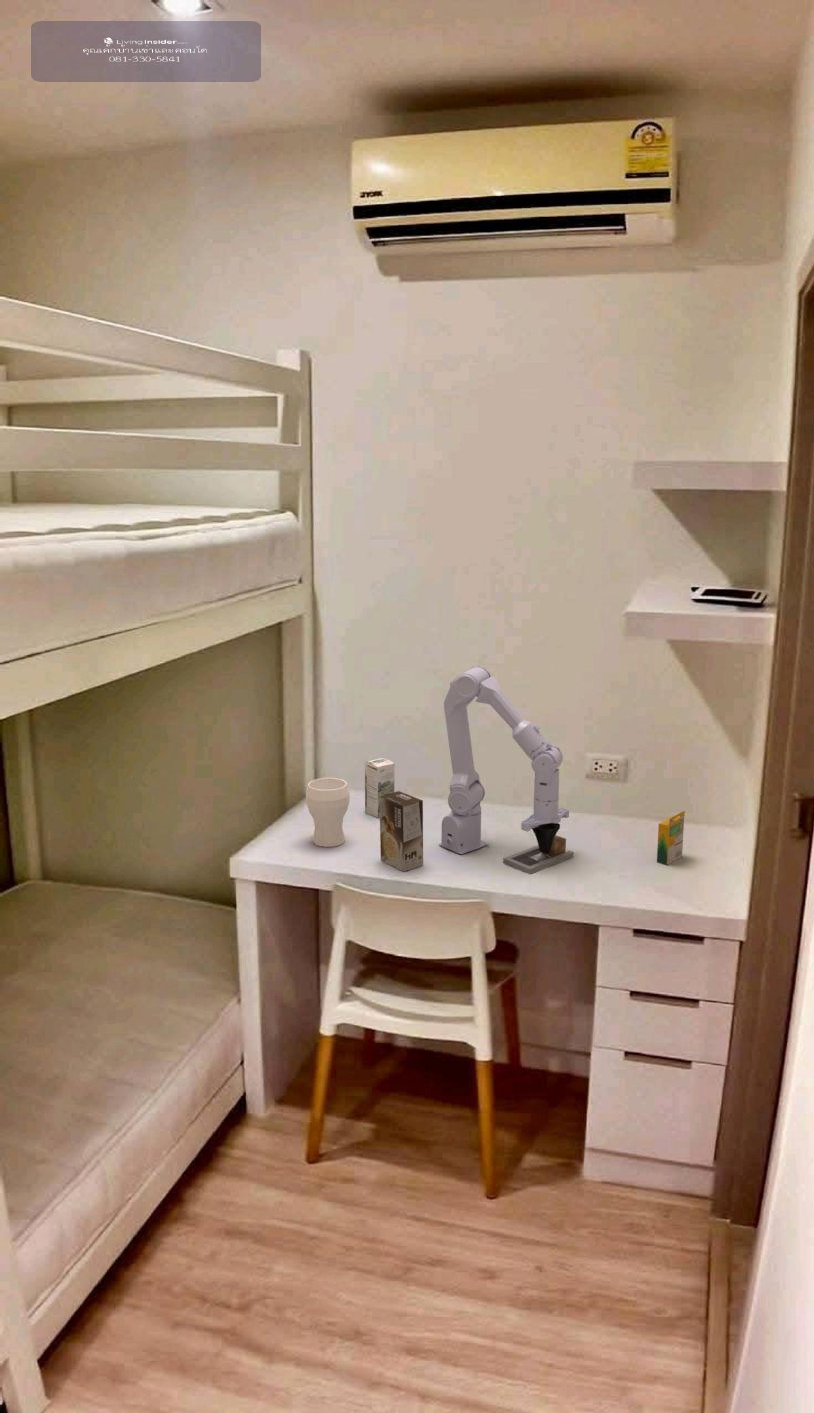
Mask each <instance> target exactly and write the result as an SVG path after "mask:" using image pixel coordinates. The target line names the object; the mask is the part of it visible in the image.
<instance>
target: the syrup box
mask: <svg viewBox="0 0 814 1413" xmlns="http://www.w3.org/2000/svg"><path fill="white" fill-rule="evenodd" d="M395 767H396V766H395V763H394V762H393V761H391V760H389V759H387V758H383V757H379V758H376V759H373V760H369V761H364V813H365V814H368V815H370V816H372V817H375V818H377V819H380V798H379V797H381V796H385V795H386V794H390V793H393V792H395V775H396V774H395V772H396V771H395Z"/></svg>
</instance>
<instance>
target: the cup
mask: <svg viewBox="0 0 814 1413" xmlns="http://www.w3.org/2000/svg"><path fill="white" fill-rule="evenodd" d="M305 799H306V802H305V803H306V805H307V808H308V812H309V814H310V815H311V817H312V820H313V825H314V830H313V831H314V832H313V839H312V842H313V844H314V843H315V844H314V845H316V846H319V847H322V846H323V848H330V847H333V848H334V847H337V846H341V845H342V844H344V843H345V834H344V830H343V823H344V818H345V817H344V816H346V813H347V811H348V808H349V805H350V789H349V786H348V783H347V781H346V780H344V779H341V778H337V777H322V778H321V777H320V778H315V779H313V780H311V781H309V782H308V784H307V788H306V792H305Z"/></svg>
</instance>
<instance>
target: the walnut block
mask: <svg viewBox="0 0 814 1413" xmlns="http://www.w3.org/2000/svg"><path fill="white" fill-rule="evenodd" d="M566 847H567V838H565V837H564V836H563V837H562V836H560V835H557V834H556V835H555V837H554V839H553V842H552V845H551V849H550V852H549V853H547V854H544V853H542V852H541V854H542V855H544V856H546V857H549V858H552V857H555V856H557V855H560V854H562V853H565V852H567V848H566Z"/></svg>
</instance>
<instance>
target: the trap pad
mask: <svg viewBox="0 0 814 1413" xmlns="http://www.w3.org/2000/svg"><path fill="white" fill-rule="evenodd" d="M518 862H520V863H523V864H525V865H528V866H531V865H534V864H537V863H539V862H541V861H540V860H538V859H535V858H532V857H531V856H528V857H526V858H523V859H520V860H518Z"/></svg>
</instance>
